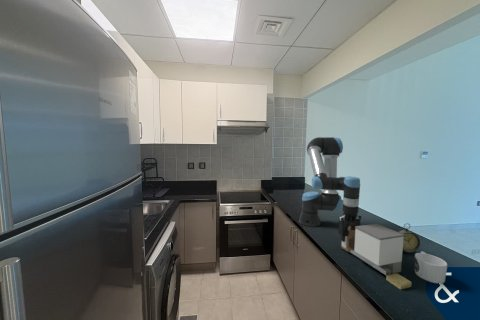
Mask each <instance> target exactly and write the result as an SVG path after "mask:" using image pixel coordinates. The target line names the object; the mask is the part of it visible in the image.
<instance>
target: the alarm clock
mask: <svg viewBox="0 0 480 320" xmlns="http://www.w3.org/2000/svg"><path fill="white" fill-rule="evenodd" d="M406 225H408V226H409V227H408V228H407V227H406V228H405V226H406ZM403 228H404V229H402V230H399V231H398V232H399V233H401V234H404V238H403V251H402V252H405V253H414V254H416V253H417V252H416V251H417V250H419V248H420V245H421V240H420V237H419V236H418V235H417V234H415V233H414V232H412V231H410V230H409V229H411V224H410V223H408V222H407V223H405V224H403Z"/></svg>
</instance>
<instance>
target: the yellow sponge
mask: <svg viewBox="0 0 480 320" xmlns="http://www.w3.org/2000/svg"><path fill="white" fill-rule="evenodd" d="M385 276H386V277H385V279H386V281H387V282H389V283H390V284H392V285H394V286H395V287H396V288H397V289H399V290H404V289H409V288H411V287H412V284H413V282H412V281H410V280H409V279H407V278H406V277H404V276H402V275H400V274H399V273H398V272H397V273H391V274H389V275H385Z"/></svg>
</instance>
